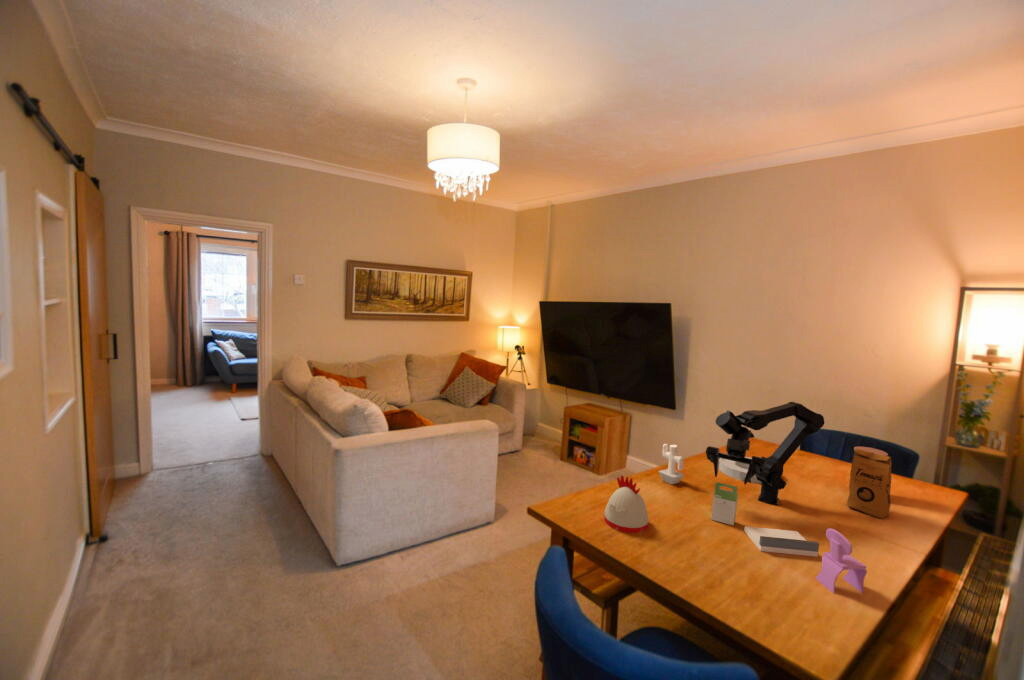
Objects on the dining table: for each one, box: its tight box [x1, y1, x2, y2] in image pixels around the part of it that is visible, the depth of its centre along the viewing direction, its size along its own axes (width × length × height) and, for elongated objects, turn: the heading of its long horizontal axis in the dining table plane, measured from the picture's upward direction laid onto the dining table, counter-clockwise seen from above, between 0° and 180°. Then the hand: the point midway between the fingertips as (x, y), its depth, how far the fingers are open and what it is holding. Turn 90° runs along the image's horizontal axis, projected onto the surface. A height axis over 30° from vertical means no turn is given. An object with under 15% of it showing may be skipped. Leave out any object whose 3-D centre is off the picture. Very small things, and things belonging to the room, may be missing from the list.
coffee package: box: [846, 449, 892, 520], centre depth 166 cm, size 10×12×22 cm
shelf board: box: [743, 525, 820, 558], centre depth 141 cm, size 12×16×4 cm
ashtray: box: [718, 456, 762, 484], centre depth 199 cm, size 23×23×4 cm
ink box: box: [710, 481, 739, 526], centre depth 153 cm, size 7×4×13 cm, turn 58°
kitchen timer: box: [603, 475, 649, 534], centre depth 149 cm, size 14×14×15 cm
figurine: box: [658, 443, 686, 485], centre depth 185 cm, size 7×9×15 cm
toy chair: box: [815, 527, 868, 594], centre depth 120 cm, size 8×9×15 cm
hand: (729, 480), depth 158 cm, fingers open, 9 cm apart
